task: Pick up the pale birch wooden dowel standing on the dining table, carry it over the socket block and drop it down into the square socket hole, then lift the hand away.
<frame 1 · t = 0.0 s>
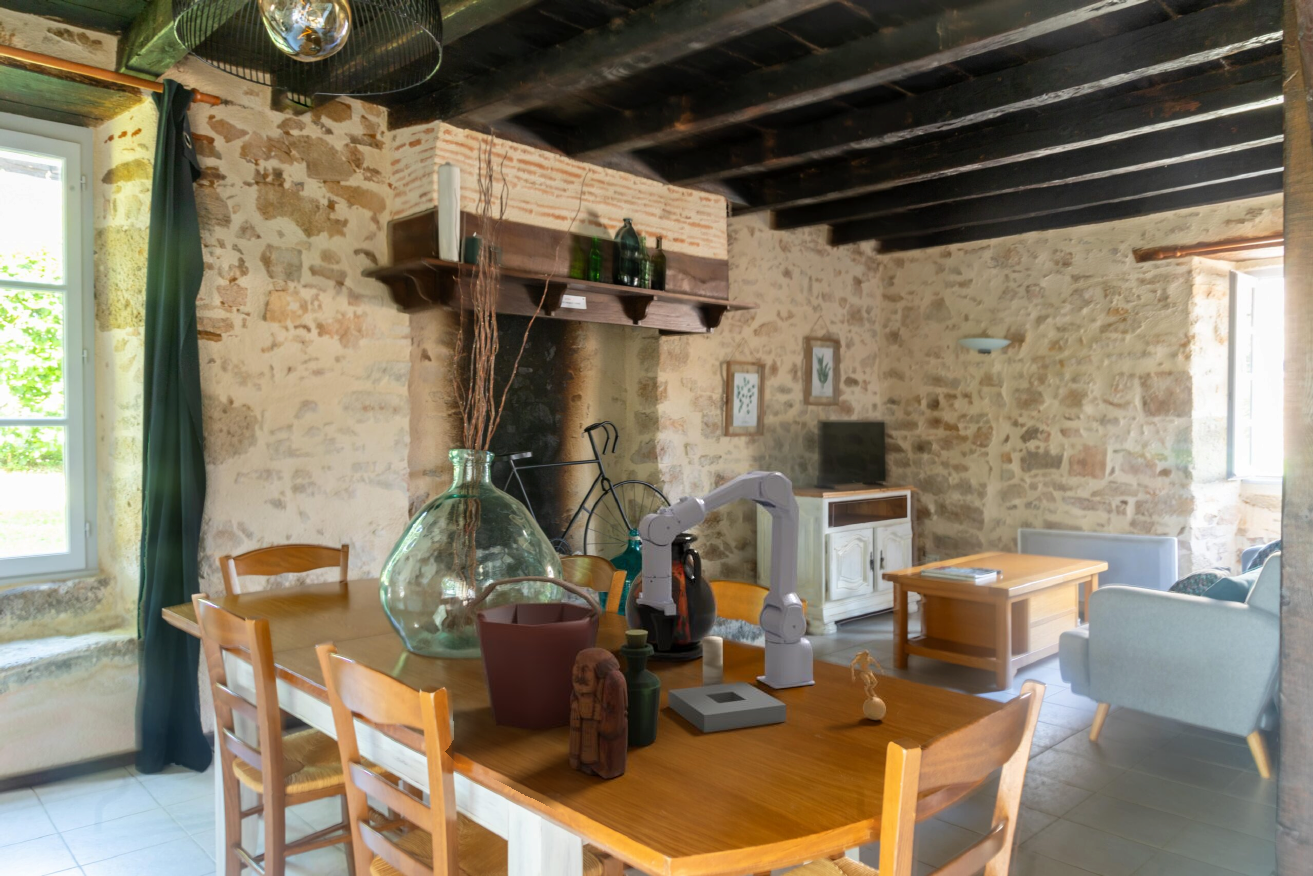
hand: (656, 645, 168), 10 cm above the table, fingers open, 7 cm apart
amphora vase: (671, 655, 203), on the table
figurine: (870, 719, 156), on the table
wooden figurine: (596, 768, 132), on the table
bucket: (537, 714, 159), on the table
potion bottle: (636, 741, 144), on the table
socket block: (725, 713, 158), on the table
birch dowel: (712, 688, 175), on the table
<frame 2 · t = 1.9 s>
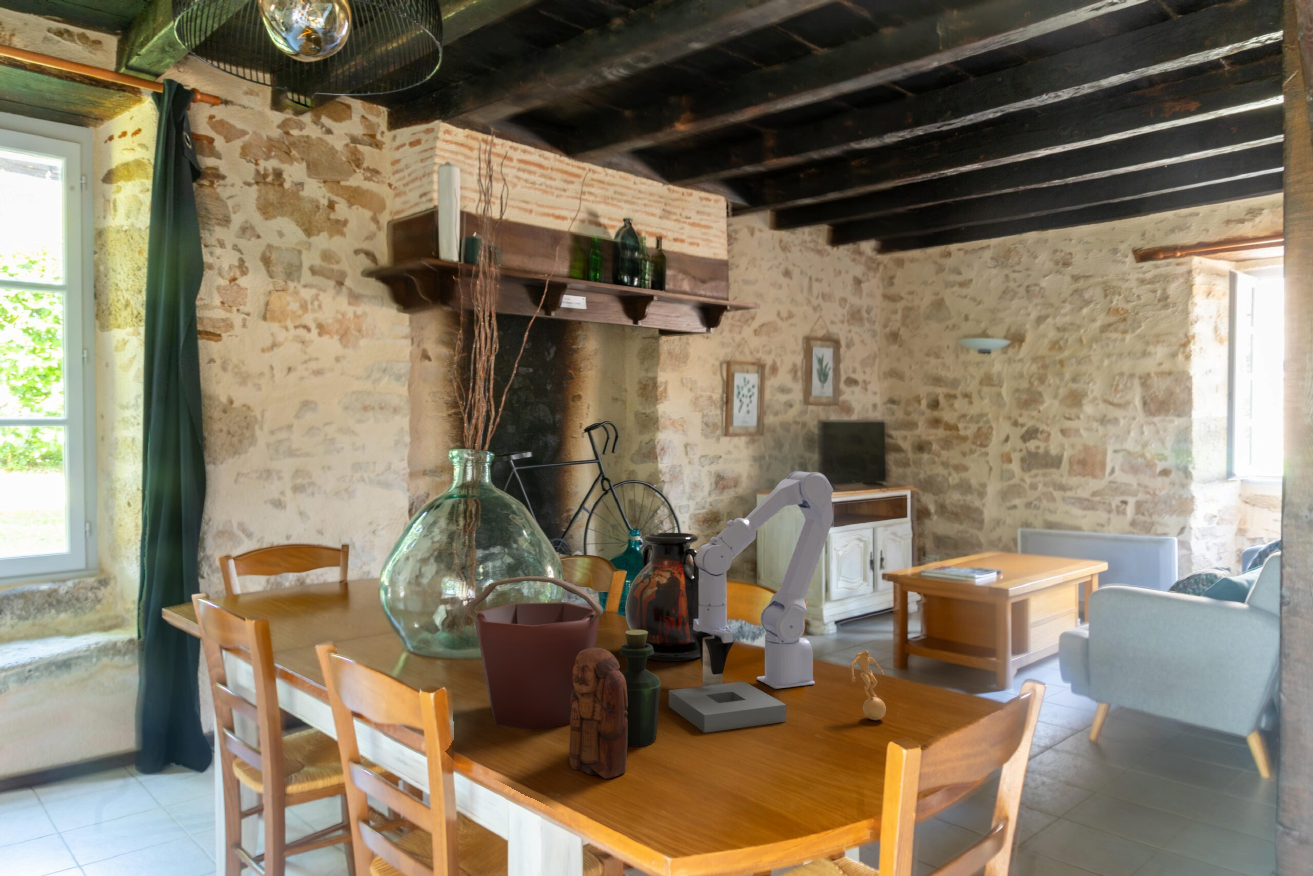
hand: (712, 671, 175), 3 cm above the table, fingers closed on birch dowel, 4 cm apart
birch dowel: (712, 688, 175), on the table, touching gripper
everything else where it was.
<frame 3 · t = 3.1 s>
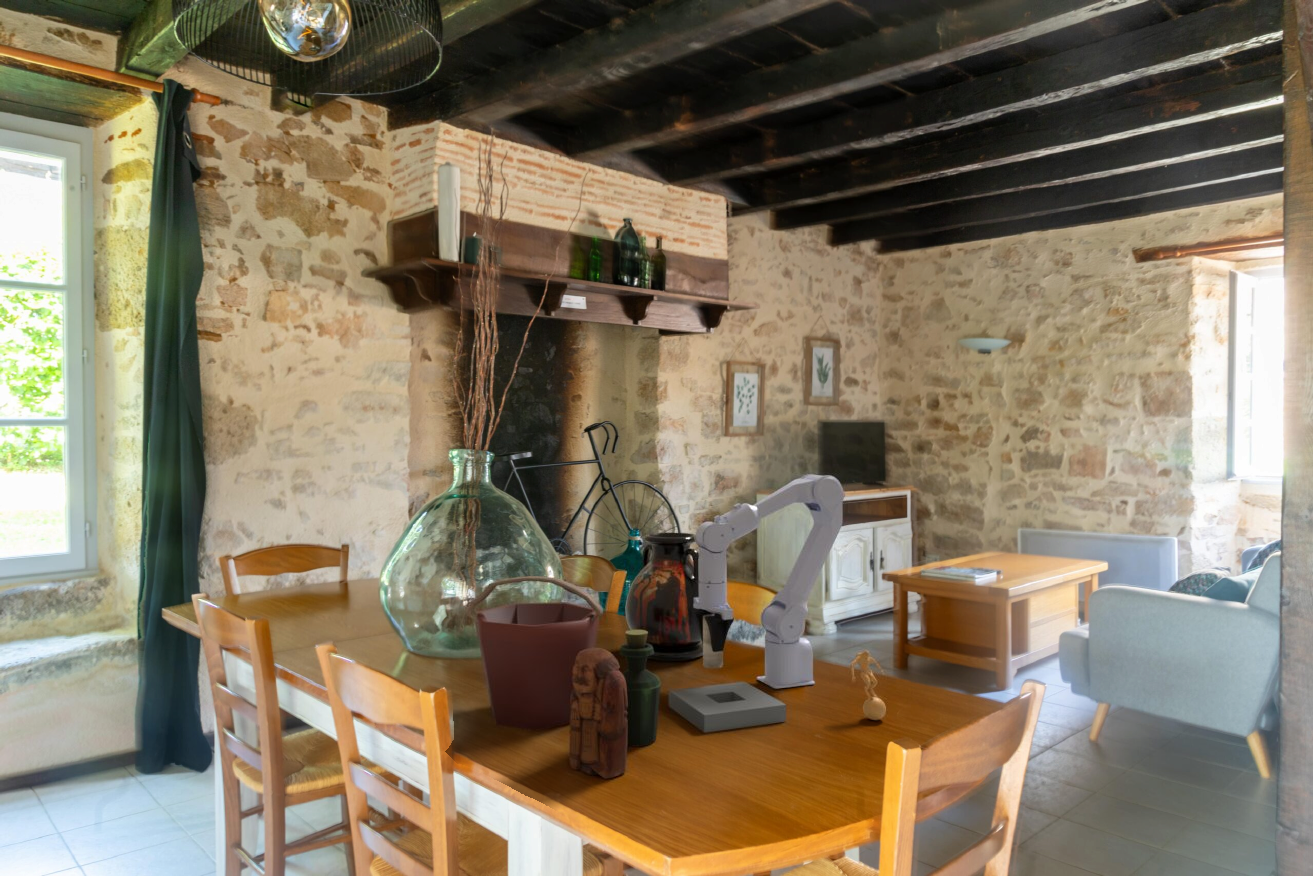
hand: (712, 648, 175), 8 cm above the table, fingers closed on birch dowel, 4 cm apart
birch dowel: (713, 665, 175), point 4 cm above the table, touching gripper
everything else where it was.
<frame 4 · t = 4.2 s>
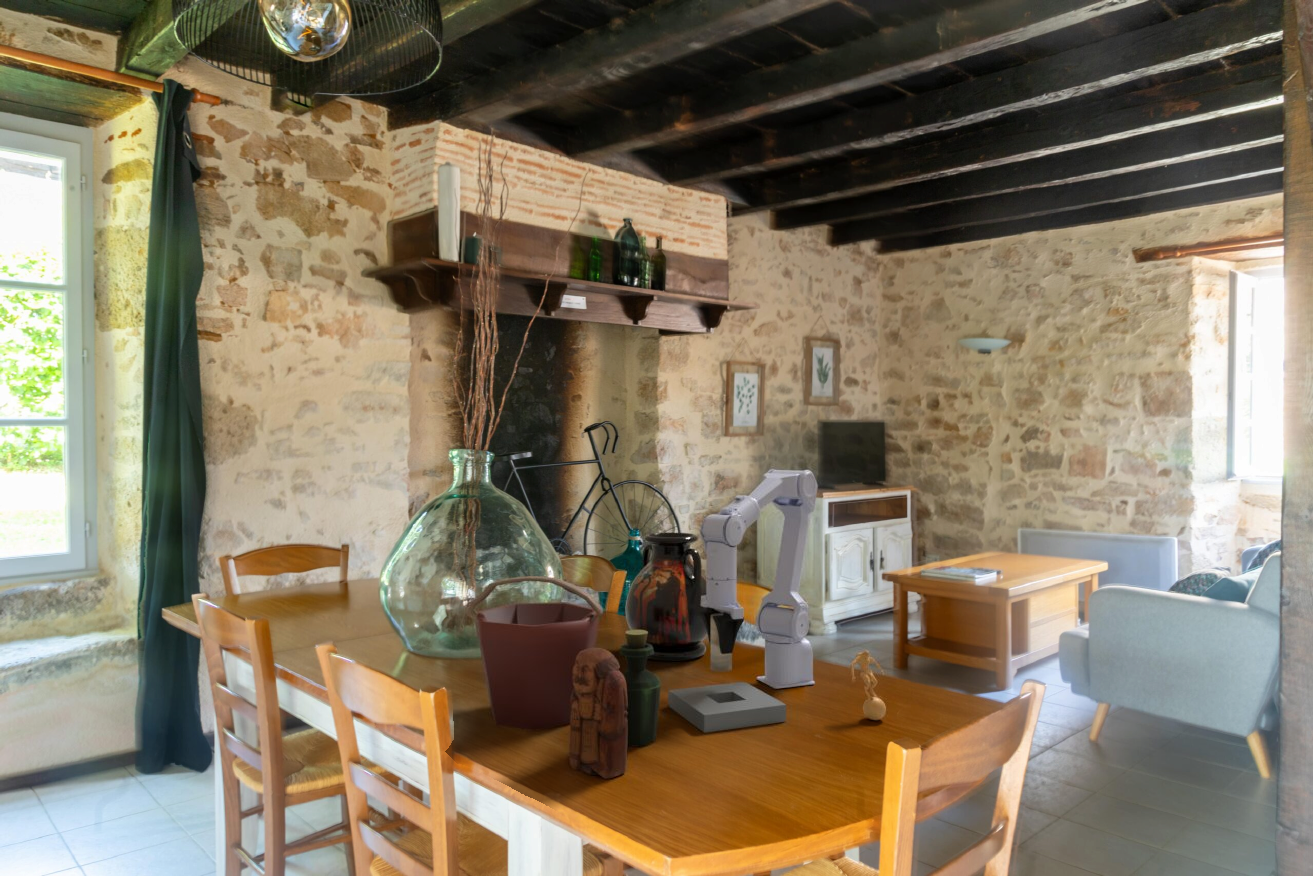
hand: (721, 650, 163), 11 cm above the table, fingers closed on birch dowel, 4 cm apart
birch dowel: (721, 668, 163), point 7 cm above the table, touching gripper
everything else where it was.
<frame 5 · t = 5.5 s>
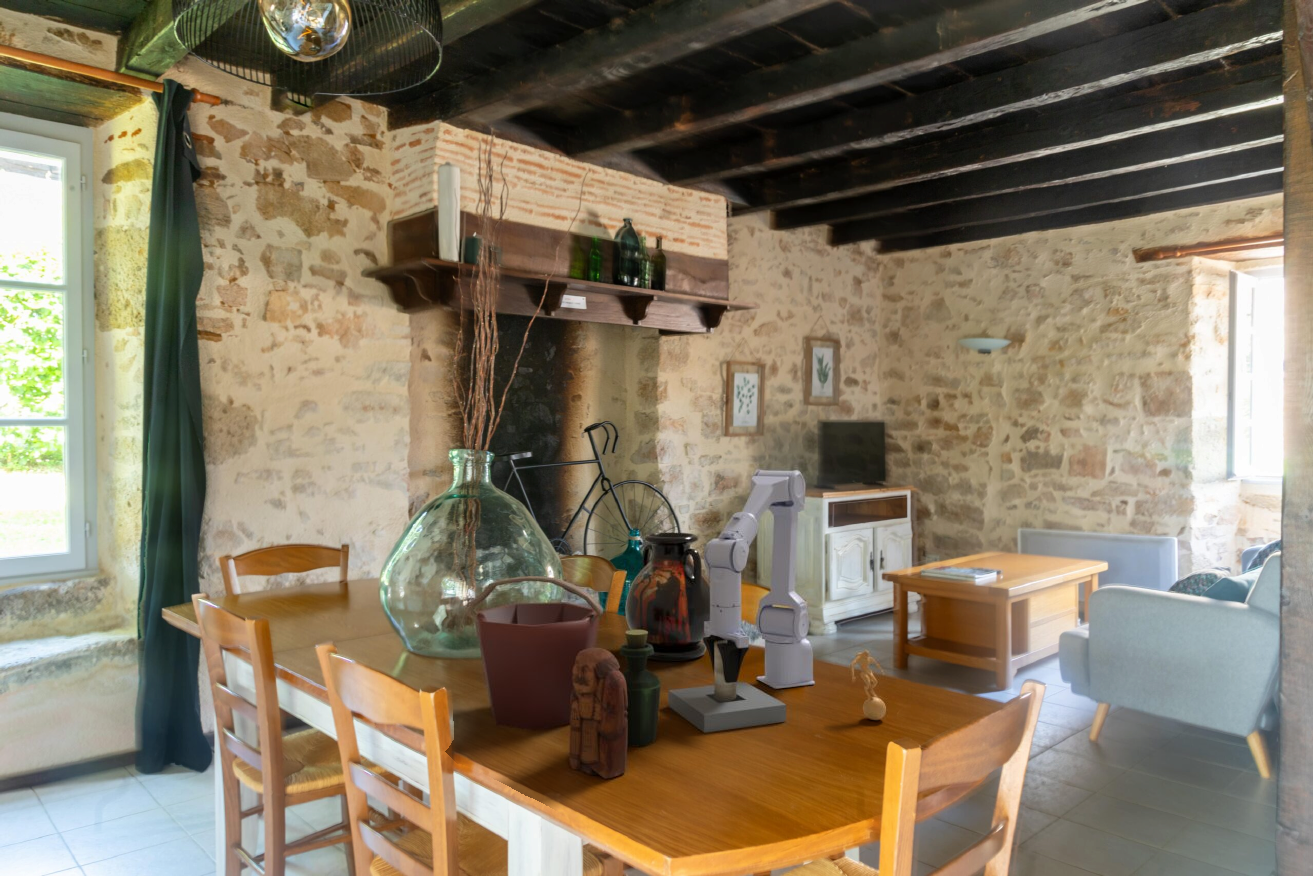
hand: (725, 678, 158), 6 cm above the table, fingers closed on birch dowel, 4 cm apart
birch dowel: (725, 697, 158), point 3 cm above the table, touching gripper
everything else where it was.
when the fingers open (4 cm above the table, at t = 6.4 s): birch dowel drops 1 cm, resting in socket block.
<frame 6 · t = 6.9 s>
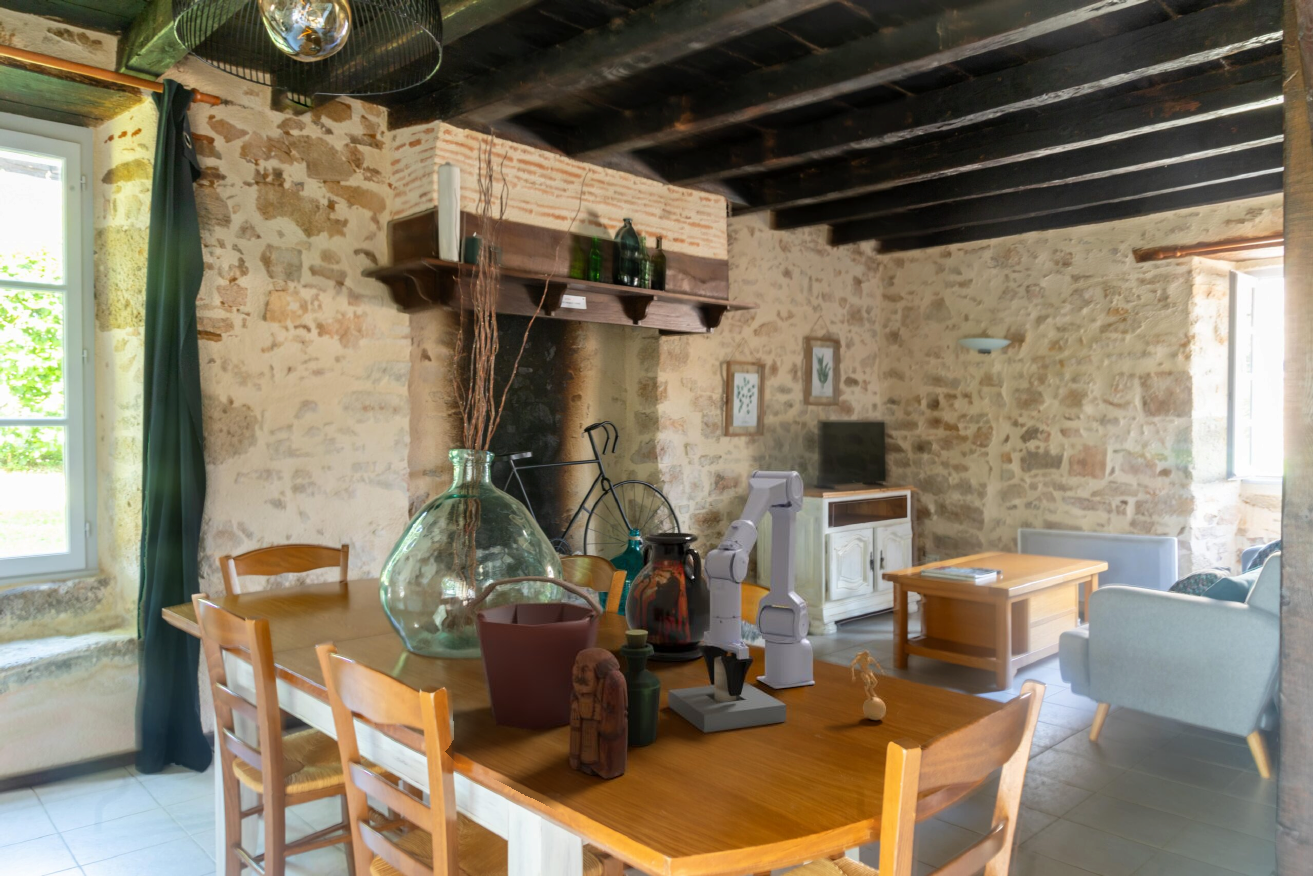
hand: (725, 689, 158), 4 cm above the table, fingers open, 7 cm apart
birch dowel: (725, 713, 158), resting in socket block
everything else where it was.
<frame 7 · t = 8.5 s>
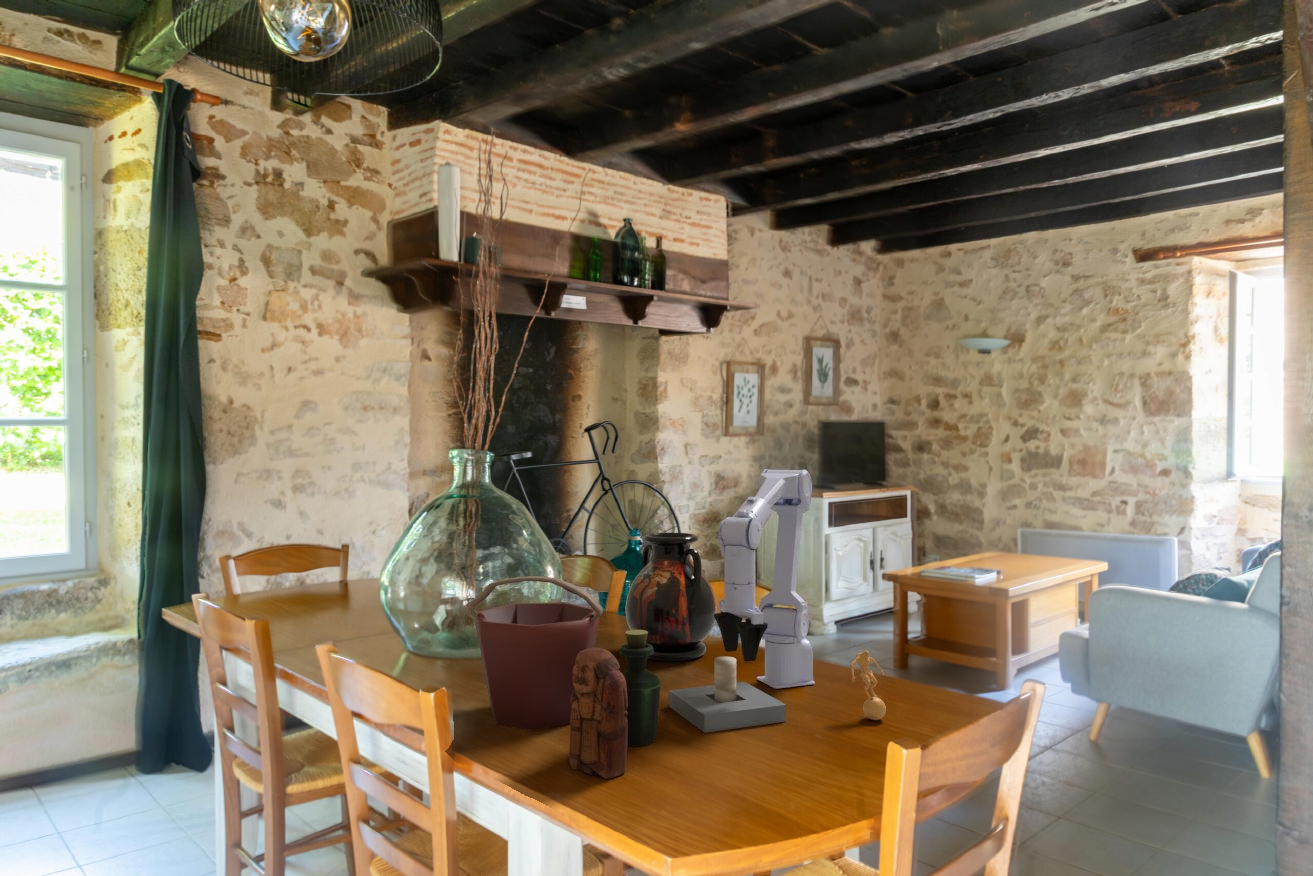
hand: (740, 655, 160), 10 cm above the table, fingers open, 7 cm apart
nothing on the table moved.
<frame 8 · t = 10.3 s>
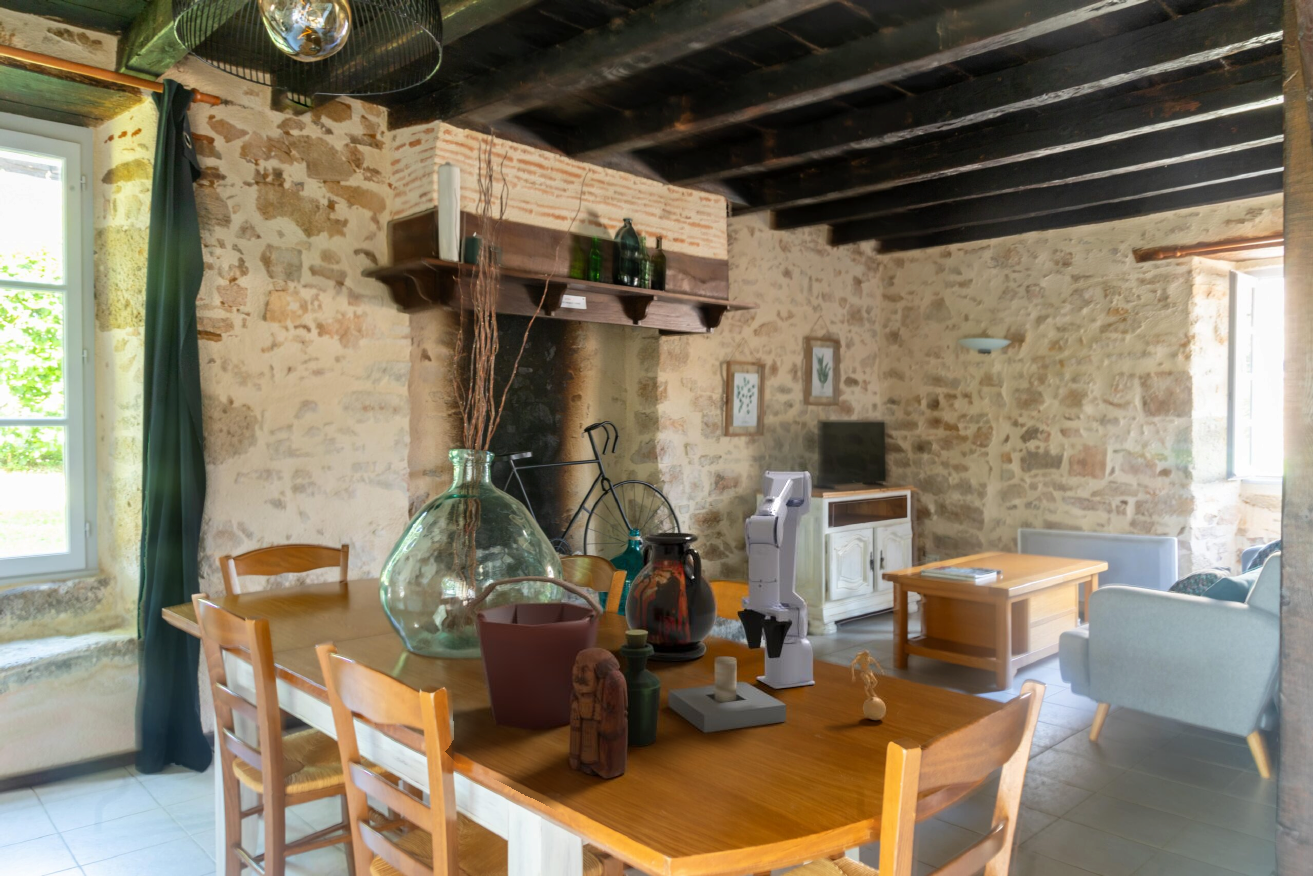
hand: (764, 652, 161), 10 cm above the table, fingers open, 7 cm apart
nothing on the table moved.
at the end: birch dowel 0.1 cm off-centre on the socket block, point 0.0 cm above the socket block's base; birch dowel tilted 0°; the gripper is holding nothing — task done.
